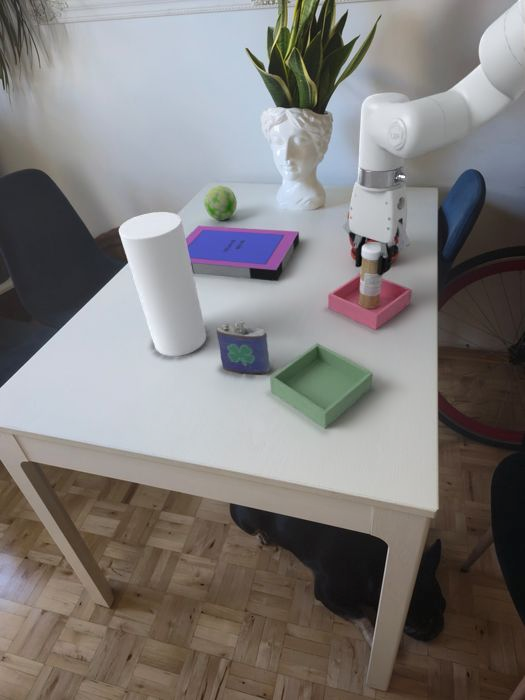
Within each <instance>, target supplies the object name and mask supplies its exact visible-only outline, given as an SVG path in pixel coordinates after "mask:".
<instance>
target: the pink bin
mask: <svg viewBox="0 0 525 700" xmlns="http://www.w3.org/2000/svg"><path fill="white" fill-rule="evenodd" d="M360 276H361V273H359V274H357V275H356V276H355V277H353V278H351V279H350V280H348V281H347V282H345V283H343V284H342V285H341V286H338V287H337V288H336V289H334V290H333V291H331V292H330V293H328V301H327V303H328V305H327V307H328V309H330V310H332V311H334V312H336V313H338V314H339V315H343V316H345V317H347V318H349V319H351V320H353V321H355V322H358V323H360V324H362V325H364V326H366V327H368V328H370V329H372V330H375V331H376V330H377V329H379V328H380V327H381V326H383V325H384V324H385V323H387V322H388V321H389V320H390V319H392V318H393V317H395V316H396V315H397V314H398V313H399V312H401V311H402V310H403V309H405V308H406V307H407V306H409V305H410V304H411V298H412V293H413V289H411V288H409V287H406V286H403V285H401V284H398V283H396V282H393V281H390V280H388V279H386V278H383V277H382V286H381V292H380V305H379V306H378V307H377V308H374V309H366V308H363V307H361V306H360V305H359V296H360Z"/></svg>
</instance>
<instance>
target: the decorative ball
mask: <svg viewBox="0 0 525 700" xmlns="http://www.w3.org/2000/svg"><path fill="white" fill-rule="evenodd" d="M203 202H204V203H203V204H204V205H203V206H204V209H205V210H206V213H207V214H208V216H210V217H212V218H213V219H215V220H219V221H224V220H227V219H229V218H231V217H232V216H233V215H234V213H235V211H236V210H237V205H238V202H237V197H236V196H235V193H234V191H233V190H232V189H231V188H230V187H227V186H225V185H215V186H213V187H212V188H210V189H208V191H207V192H206V194H205V197H204V201H203Z"/></svg>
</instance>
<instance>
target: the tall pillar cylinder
mask: <svg viewBox="0 0 525 700" xmlns="http://www.w3.org/2000/svg"><path fill="white" fill-rule="evenodd" d="M118 234H119V237H120V240H121V243H122V247H123V250H124V253H125V255H126V256H125V257H126V259H127V262H128V266H129V268H130V272H131V275H132V279H133V282H134V285H135V288H136V291H137V295H138V297H139V301H140V304H141V308H142V310H143V313H144V316H145V320H146V323H147V326H148V328H149V333H150V335H151V339H152V342H153V346H154V348H155V350H156V351H157V352H158V353H160V354H161V355H164V356H168V357H179V356H185V355H189V354H191V353H193V352H196V351H197V350H198V349H200V348H201V347H202V346H203V345H204V344H205V341H206V340H207V333H206V332H207V331H206V327H205V323H204V318H203V317H204V316H203V313H202V308H201V303H200V298H199V295H198V290H197V285H196V281H195V275H194V273H193V271H192V266H191V261H190V256H189V252H188V247H187V242H186V238H187V237H186V234H185V229H184V224H183V220H182V218H181V216H180V215H178V214H176V213H173V212H169V211H168V212H167V211H155V212H149V213H144V214H140V215H136V216H134V217H131V218H129V219H128V220H126V221H125V222H123V223H122V224H121V225H120V226H119V228H118Z"/></svg>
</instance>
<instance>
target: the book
mask: <svg viewBox="0 0 525 700" xmlns="http://www.w3.org/2000/svg"><path fill="white" fill-rule="evenodd" d="M185 238H186V242H187V247H188V252H189V256H190V261H191V266H192V271H193V274H197V275H200V274H201V275H207V276H208V275H209V276H219V277H229V278H240V279H241V278H242V279H250V280H261V281H262V280H263V281H273V282H278V280H279V278H280V276H281V275H282V273H283V271H284V269H285V268H286V266H287V264H288V262H289V261H290V259H291V257H292V255H293V254H294V252H295V250H296V249H297V247H298V245H299V243H300V231H297V230H282V229H281V230H279V229H263V228H244V227H231V226H230V227H228V226H214V225H213V226H211V225H197V226H196V228H194V229H193V231H191V232H190V233H189V234H188V235H187V236H186V237H185Z"/></svg>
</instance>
